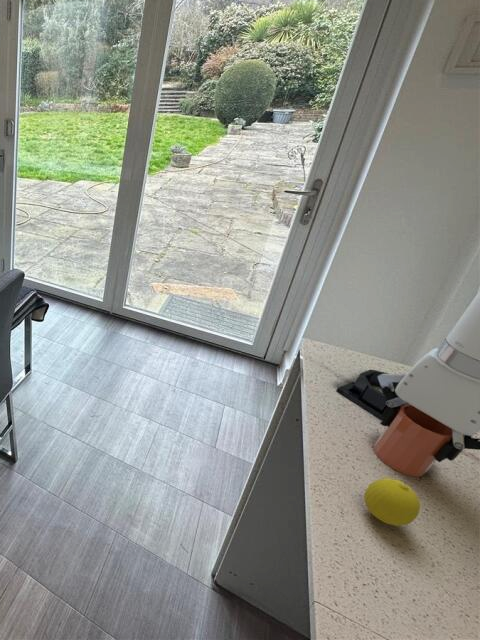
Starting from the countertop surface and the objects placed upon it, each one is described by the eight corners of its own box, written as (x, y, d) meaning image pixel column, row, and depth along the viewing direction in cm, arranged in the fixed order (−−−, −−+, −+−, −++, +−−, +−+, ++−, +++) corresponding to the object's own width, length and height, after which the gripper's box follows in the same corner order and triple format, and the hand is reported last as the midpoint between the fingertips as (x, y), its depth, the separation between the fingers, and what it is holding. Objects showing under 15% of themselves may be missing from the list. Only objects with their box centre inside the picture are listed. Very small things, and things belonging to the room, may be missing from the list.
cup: (386, 438, 77) (414, 400, 72) (433, 469, 71) (466, 429, 66) (364, 449, 74) (392, 410, 70) (410, 481, 69) (444, 441, 64)
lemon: (368, 531, 62) (395, 498, 58) (347, 496, 66) (371, 464, 63) (412, 541, 60) (441, 508, 57) (387, 504, 65) (413, 472, 62)
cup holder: (367, 378, 91) (377, 363, 89) (431, 415, 82) (443, 399, 80) (336, 390, 87) (345, 375, 85) (399, 431, 78) (411, 414, 76)
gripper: (574, 395, 56) (495, 477, 65) (416, 323, 71) (367, 398, 79) (550, 409, 54) (470, 493, 62) (390, 332, 68) (343, 408, 76)
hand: (413, 439), depth 70 cm, fingers closed on cup, 6 cm apart
